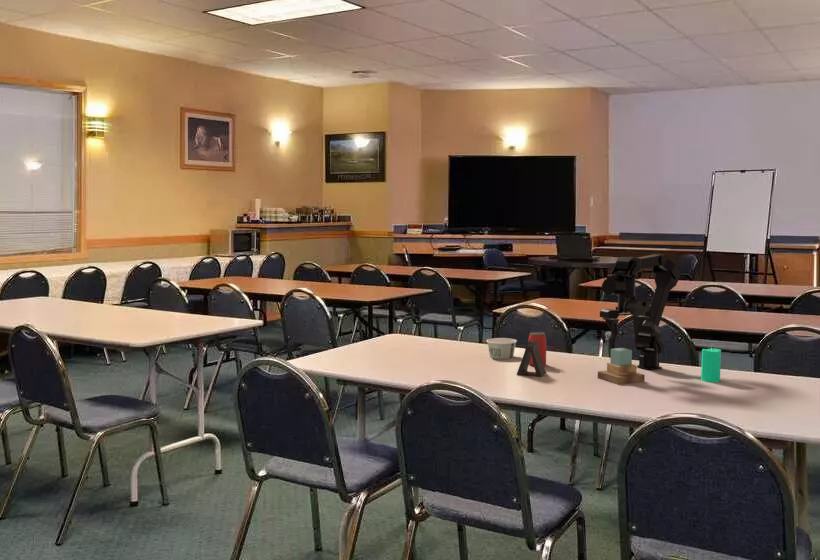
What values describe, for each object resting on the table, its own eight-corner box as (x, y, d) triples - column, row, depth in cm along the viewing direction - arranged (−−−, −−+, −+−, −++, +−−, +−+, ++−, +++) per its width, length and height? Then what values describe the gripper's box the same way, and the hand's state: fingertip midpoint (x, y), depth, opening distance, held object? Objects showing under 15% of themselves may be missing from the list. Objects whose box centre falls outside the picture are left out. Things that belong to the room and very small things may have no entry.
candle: (719, 379, 268) (720, 344, 267) (720, 382, 262) (721, 347, 261) (700, 377, 270) (701, 343, 269) (701, 381, 264) (702, 346, 263)
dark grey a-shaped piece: (546, 374, 278) (546, 340, 277) (541, 377, 272) (541, 343, 271) (522, 371, 282) (522, 338, 281) (516, 375, 276) (516, 341, 275)
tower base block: (623, 377, 275) (623, 368, 275) (644, 383, 265) (644, 374, 264) (597, 380, 271) (597, 371, 270) (617, 386, 261) (617, 377, 260)
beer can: (545, 366, 290) (546, 334, 289) (527, 366, 292) (528, 334, 291) (546, 363, 297) (546, 331, 296) (528, 362, 298) (529, 331, 297)
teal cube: (622, 362, 271) (622, 347, 270) (631, 364, 266) (632, 350, 266) (610, 363, 269) (610, 348, 268) (619, 366, 264) (619, 351, 264)
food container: (521, 355, 313) (521, 339, 313) (509, 360, 303) (509, 344, 302) (494, 353, 319) (494, 337, 319) (481, 357, 309) (481, 341, 308)
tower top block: (624, 370, 272) (624, 361, 272) (636, 374, 265) (636, 365, 265) (606, 371, 270) (607, 363, 270) (618, 375, 263) (618, 366, 263)
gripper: (619, 296, 264) (618, 342, 266) (663, 293, 272) (662, 338, 273) (599, 293, 275) (598, 337, 276) (642, 290, 282) (641, 333, 283)
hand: (625, 336), depth 277 cm, fingers open, 9 cm apart
